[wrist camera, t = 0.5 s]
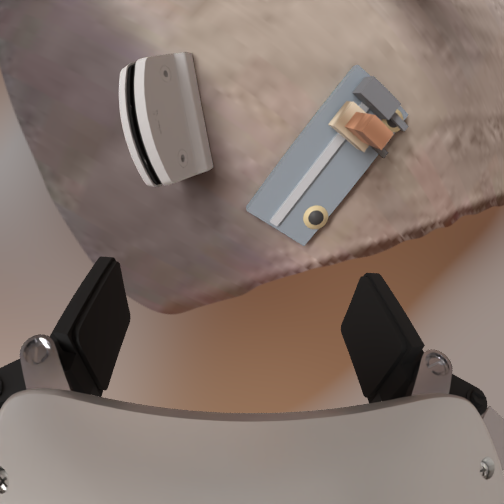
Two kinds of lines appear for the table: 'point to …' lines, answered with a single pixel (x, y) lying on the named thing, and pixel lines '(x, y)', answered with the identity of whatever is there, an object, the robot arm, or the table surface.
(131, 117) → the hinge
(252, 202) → the gauge board
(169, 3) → the table surface
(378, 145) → the block
